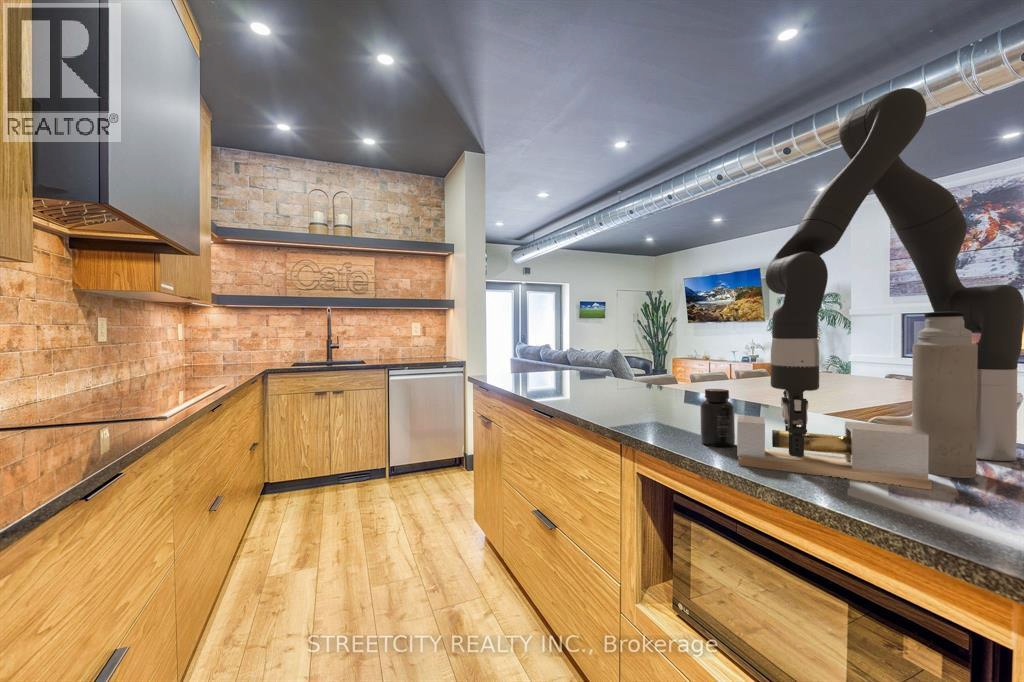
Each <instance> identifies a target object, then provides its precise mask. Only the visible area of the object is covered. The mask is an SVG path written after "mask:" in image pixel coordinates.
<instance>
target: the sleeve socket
mask: <svg viewBox="0 0 1024 682" xmlns="http://www.w3.org/2000/svg"><path fill="white" fill-rule="evenodd" d="M736 420H737V421H736V423H737V424H736V426H737V427H736V430H737V432H736V433H737V435H736V437H737V439H736V440H737V441H736V443H737V445H736V446H737V447H736V448H737V449H736V450H737V451H736V452H737V456H736V457H738V458H739V457H748V458H756V459H764V460H765V449H766V421H765V417H764V416H752V415H739V414H738V416H737V419H736ZM844 436H847V437H851V455H844V457H845V461H848V462H851V469H852V470H859V471H867V472H876V473H884V474H892V475H901V476H909V477H918V478H926V479H929V473H928V440H929V435H928V434H926V433H925V432H923V431H921V430H919V429H918V428H916V427H912V425H910V426H909V425H896V424H886V423H885V424H883V423H872V422H871V423H870V422H869V423H868V422H856V421H844Z"/></svg>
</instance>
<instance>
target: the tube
mask: <svg viewBox="0 0 1024 682" xmlns="http://www.w3.org/2000/svg"><path fill="white" fill-rule="evenodd" d="M771 433H772V434H771V441H772V443H771V447H772V448H776V449H777V448H779V449H788V450H789V435H788V432H787V431H785V430H776V429H772V431H771ZM805 451H807V452H815V453H826V454H832V455H833V454H835V455H843V456H845V455H851V437H847V436H845V435H833V434H824V433H822V434H821V433H811V432H806V434H805V436H804V452H805Z"/></svg>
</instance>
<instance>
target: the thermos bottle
mask: <svg viewBox="0 0 1024 682" xmlns="http://www.w3.org/2000/svg"><path fill="white" fill-rule="evenodd" d="M962 316H964V312H934V311H931V312H925V313H924V318H925V321H924V328H923V329H920V330H919V331H917V333H918V335H917V338H916V339H917V342H915V343H913V344H912V377H911V378H912V379H911V380H912V385H911V386H912V387H911V389H912V390H911V391H912V395H911V396H912V398H911V400H912V401H911V404H912V407H911V416H912V417H911V421H912V423H911V426H912V427H916V428H918V429H919V430H921V431H923V432H925V433H926V434H928V435H929V440H928V474H932V475H937V476H941V477H948V478H957V479H973V478H975V477H976V476H977V458H976V446H977V422H976V405H977V361H978V345H977V344H976V343H975V342H973V337H974V336H973V333H972V331H970V330H968V329H966V328H965V327H964V320H963V317H962Z"/></svg>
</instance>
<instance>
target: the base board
mask: <svg viewBox="0 0 1024 682" xmlns="http://www.w3.org/2000/svg"><path fill="white" fill-rule="evenodd" d="M738 466H744V467H751V468H757V469H758V468H760V469H768V470H772V471H773V470H774V471H775V470H776V471H781V470H782V472H789V473H790V472H791V473H799V474H805V473H806V474H805V475H807V474H808V475H814V476H820V475H823V476H822V477H828V476H832V477H831V478H836V477H840V478H839V479H844V478H847V479H846V480H854V481H861V482H868V481H870V482H869V483H875V482H878V483H877V484H883V483H887V484H886V485H891V484H894V485H893V486H899V485H901V487H908V488H915V489H916V488H917V489H924V490H932V486H933V483H932V482H933V481H932V480H930V479H929V478H928V479H926V478H918V477H909V476H901V475H892V474H884V473H876V472H867V471H859V470H852V469H851V462H848V461H845V456H837V455H836V456H835V455H828V454H827V455H826V454H818V453H817V454H816V453H809V452H808V453H806V452H804V456H803V457H796V456H791V455H790V454H789V450H780V449H772V448H771V449H770V448H765V460H764V459H756V458H748V457H739V456H738Z"/></svg>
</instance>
